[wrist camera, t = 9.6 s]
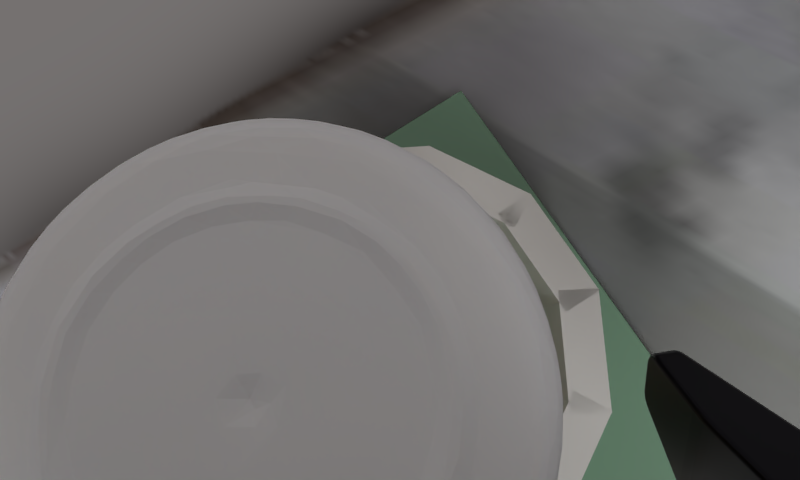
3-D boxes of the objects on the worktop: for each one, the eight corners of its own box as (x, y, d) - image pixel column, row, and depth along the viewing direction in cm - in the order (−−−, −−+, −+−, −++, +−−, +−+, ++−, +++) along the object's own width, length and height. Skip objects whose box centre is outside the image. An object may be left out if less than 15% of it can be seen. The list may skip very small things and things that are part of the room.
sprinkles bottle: (493, 331, 17) (691, 268, 4) (422, 472, 17) (375, 957, 3) (361, 261, 18) (152, 7, 5) (287, 394, 17) (-199, 539, 4)
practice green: (822, 604, 16) (930, 675, 12) (425, 885, 15) (422, 1043, 12) (460, 97, 19) (466, 42, 16) (123, 306, 18) (52, 296, 15)
